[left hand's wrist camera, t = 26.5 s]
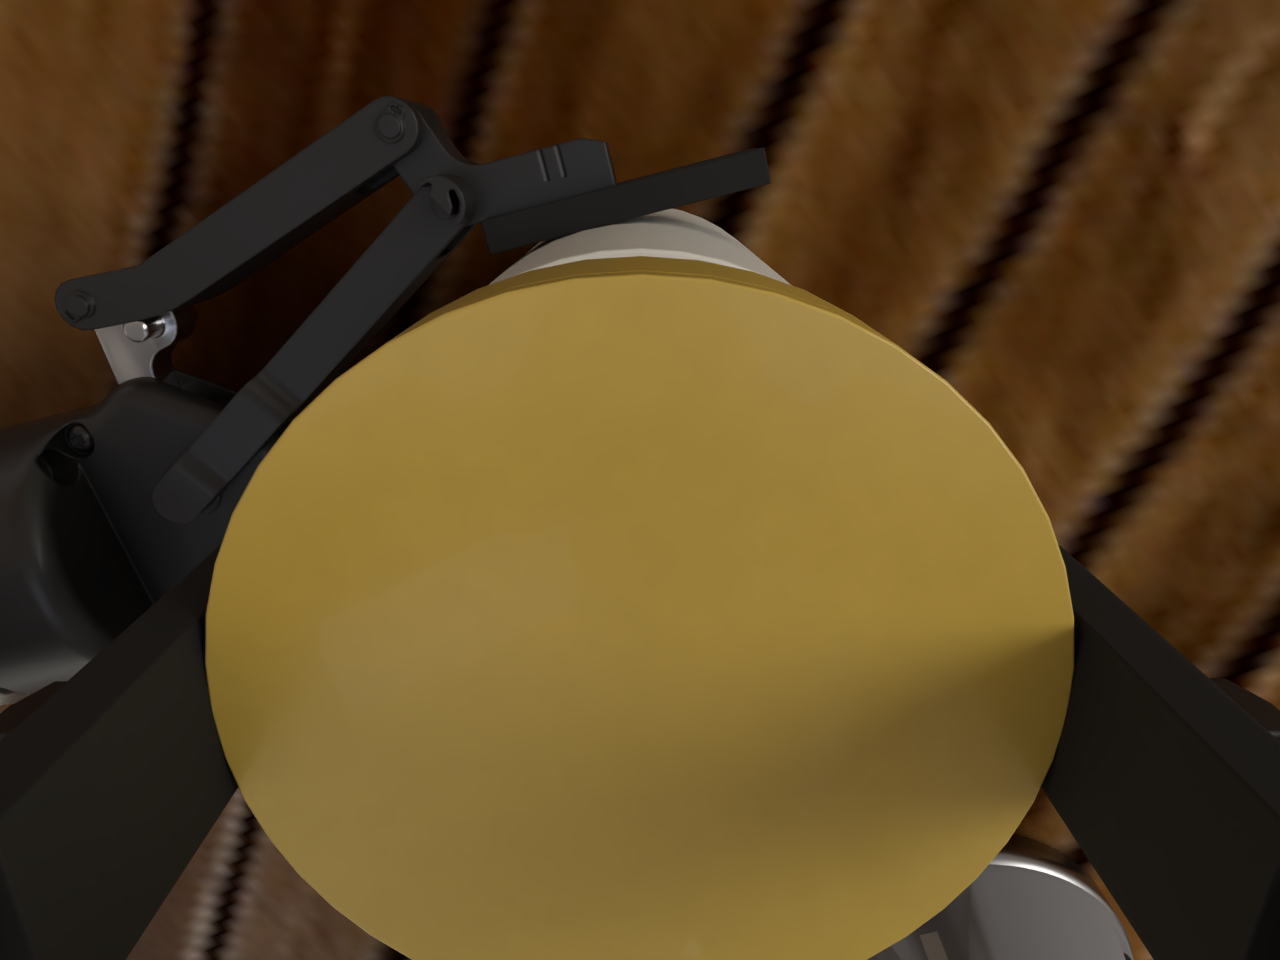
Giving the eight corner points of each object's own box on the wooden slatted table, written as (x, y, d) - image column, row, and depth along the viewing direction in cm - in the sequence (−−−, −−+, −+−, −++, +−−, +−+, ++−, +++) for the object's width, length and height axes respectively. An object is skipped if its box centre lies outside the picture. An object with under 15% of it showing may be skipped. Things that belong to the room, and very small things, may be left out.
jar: (564, 537, 30) (495, 881, 16) (437, 278, 27) (202, 416, 12) (826, 439, 29) (1013, 719, 14) (729, 152, 25) (847, 143, 11)
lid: (800, 972, 15) (824, 1090, 13) (201, 787, 14) (128, 888, 12) (1159, 446, 11) (1263, 501, 10) (394, 109, 10) (334, 94, 8)
